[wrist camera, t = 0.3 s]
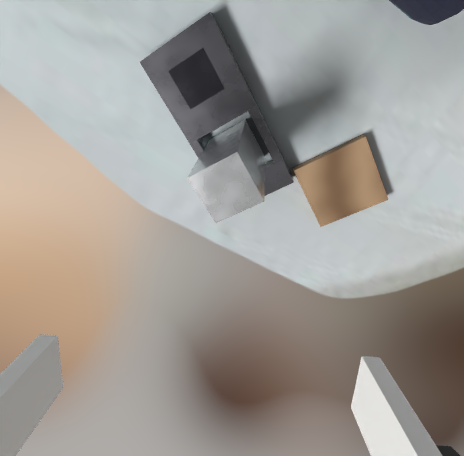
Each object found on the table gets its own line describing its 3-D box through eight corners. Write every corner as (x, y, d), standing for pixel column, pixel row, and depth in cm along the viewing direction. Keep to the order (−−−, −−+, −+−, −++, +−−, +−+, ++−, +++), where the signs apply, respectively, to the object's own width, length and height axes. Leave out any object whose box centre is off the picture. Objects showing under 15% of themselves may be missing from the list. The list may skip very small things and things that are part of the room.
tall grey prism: (245, 119, 33) (237, 151, 23) (264, 155, 35) (264, 201, 25) (210, 139, 35) (186, 178, 25) (229, 173, 37) (216, 223, 26)
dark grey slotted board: (212, 13, 29) (209, 12, 28) (292, 177, 36) (293, 182, 35) (145, 61, 32) (139, 62, 30) (232, 205, 39) (231, 211, 37)
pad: (363, 134, 33) (365, 136, 32) (385, 195, 36) (388, 199, 35) (292, 167, 36) (293, 170, 35) (319, 222, 39) (320, 226, 38)
